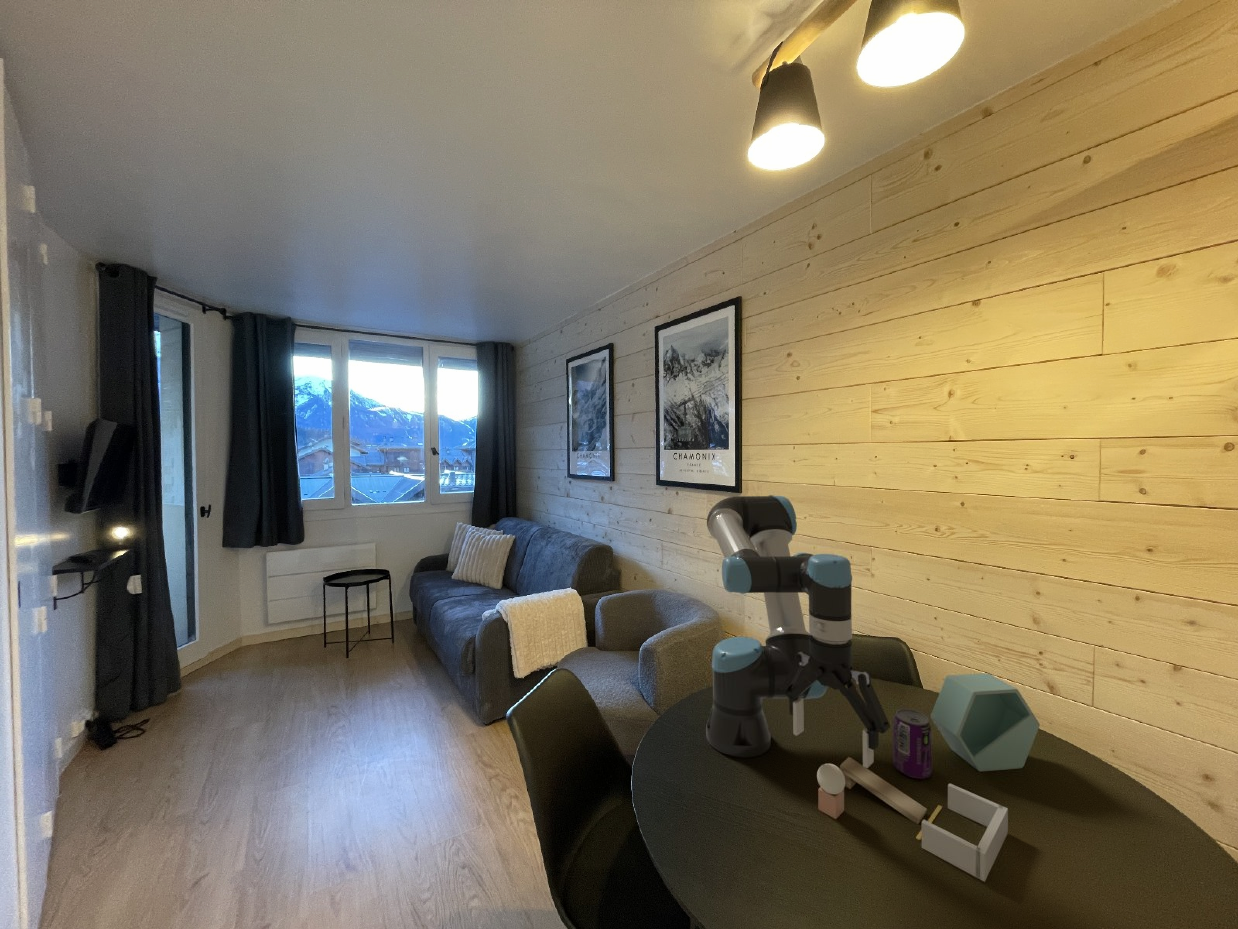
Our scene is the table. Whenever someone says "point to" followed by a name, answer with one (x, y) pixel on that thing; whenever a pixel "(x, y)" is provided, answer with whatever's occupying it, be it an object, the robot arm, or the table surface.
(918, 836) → the line
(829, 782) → the ball
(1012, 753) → the hexagonal wall shelf
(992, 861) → the fence
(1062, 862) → the table surface
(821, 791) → the salmon pink box
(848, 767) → the ramp
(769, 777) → the table surface
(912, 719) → the beverage can
